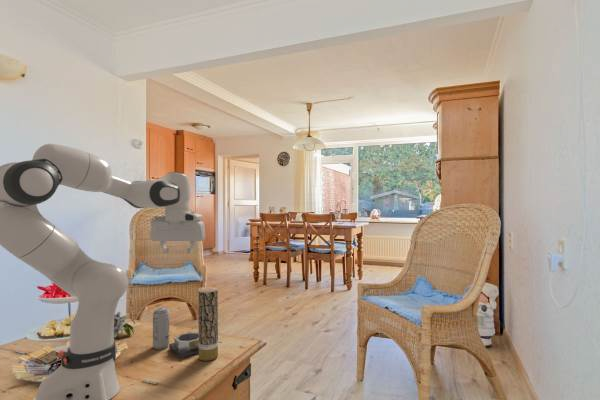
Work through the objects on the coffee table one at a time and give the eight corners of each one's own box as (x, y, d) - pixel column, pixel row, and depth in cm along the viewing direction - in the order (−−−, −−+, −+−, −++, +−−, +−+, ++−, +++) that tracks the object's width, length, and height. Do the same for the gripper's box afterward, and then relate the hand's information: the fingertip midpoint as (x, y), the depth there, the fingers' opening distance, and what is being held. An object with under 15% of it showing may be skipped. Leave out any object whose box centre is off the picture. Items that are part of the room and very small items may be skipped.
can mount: (180, 359, 123) (180, 345, 123) (169, 349, 132) (169, 336, 132) (208, 350, 131) (208, 337, 131) (196, 341, 139) (196, 329, 139)
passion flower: (110, 352, 142) (91, 330, 140) (124, 337, 153) (106, 317, 151) (130, 338, 140) (111, 316, 139) (143, 324, 151) (125, 303, 150)
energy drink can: (169, 348, 132) (169, 309, 133) (152, 351, 130) (152, 311, 130) (169, 342, 138) (169, 305, 138) (153, 345, 136) (153, 307, 136)
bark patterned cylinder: (212, 362, 121) (212, 291, 121) (195, 360, 122) (195, 290, 122) (221, 354, 127) (220, 286, 128) (204, 352, 129) (204, 286, 129)
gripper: (146, 216, 125) (146, 254, 125) (200, 216, 123) (200, 254, 123) (155, 215, 132) (155, 251, 131) (207, 215, 130) (207, 252, 130)
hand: (177, 253), depth 127 cm, fingers open, 8 cm apart
